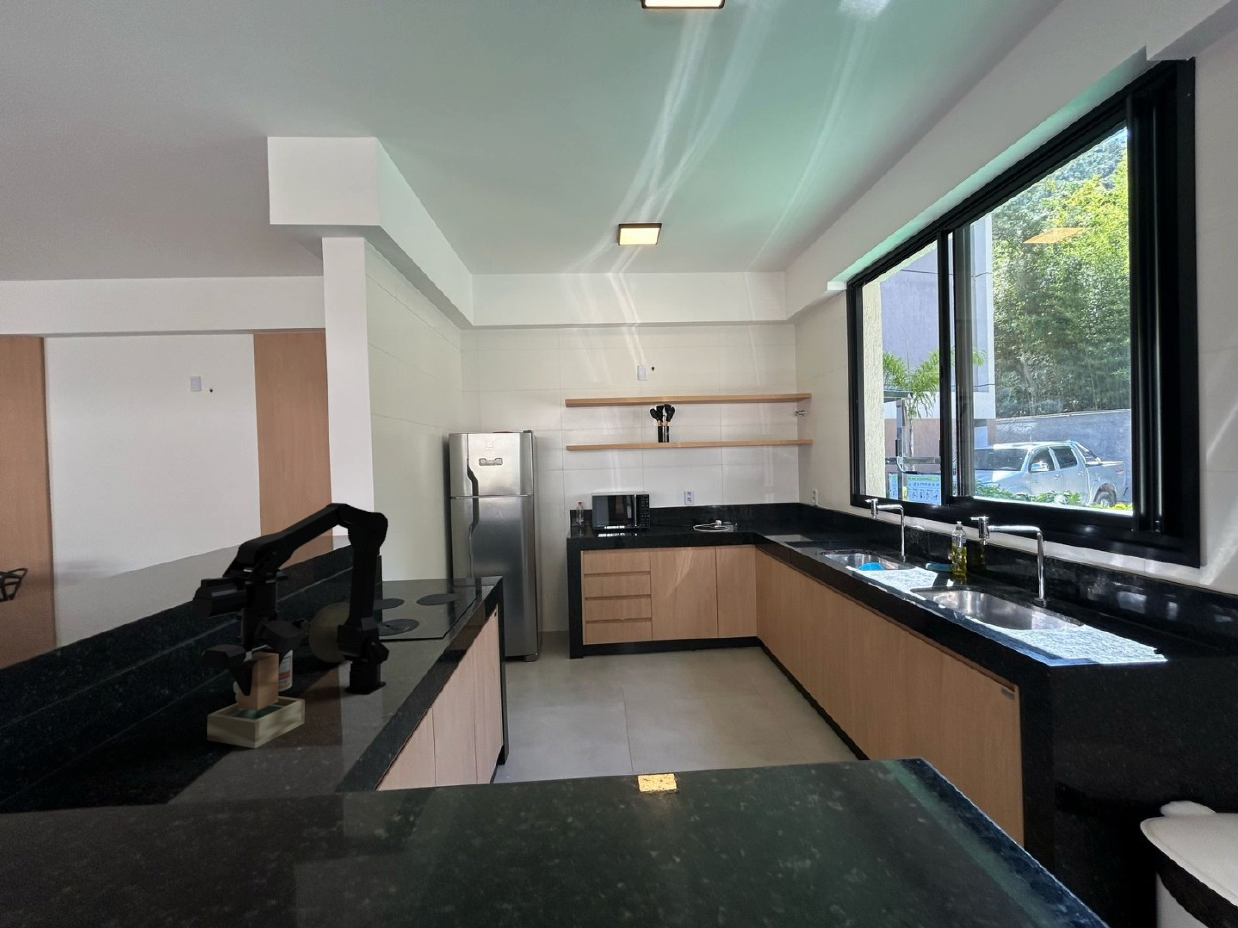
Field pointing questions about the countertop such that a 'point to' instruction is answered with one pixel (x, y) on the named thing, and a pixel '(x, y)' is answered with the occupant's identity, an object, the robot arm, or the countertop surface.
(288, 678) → the pill bottle
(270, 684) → the peg
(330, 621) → the cantaloupe
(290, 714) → the socket box
